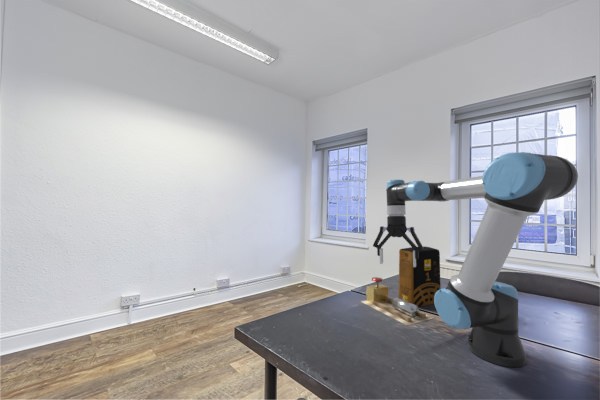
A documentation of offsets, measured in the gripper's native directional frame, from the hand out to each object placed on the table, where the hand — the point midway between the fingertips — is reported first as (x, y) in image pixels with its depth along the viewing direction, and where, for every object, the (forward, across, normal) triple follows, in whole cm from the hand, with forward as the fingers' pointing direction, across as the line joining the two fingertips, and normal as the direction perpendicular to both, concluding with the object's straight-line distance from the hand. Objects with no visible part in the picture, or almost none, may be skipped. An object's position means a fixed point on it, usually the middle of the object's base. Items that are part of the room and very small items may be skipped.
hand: (397, 265), depth 109 cm
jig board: (+22, +3, -6) cm, 24 cm away
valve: (+21, +14, -13) cm, 28 cm away
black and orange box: (+22, -5, -24) cm, 33 cm away
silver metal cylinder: (+21, -1, -4) cm, 21 cm away
